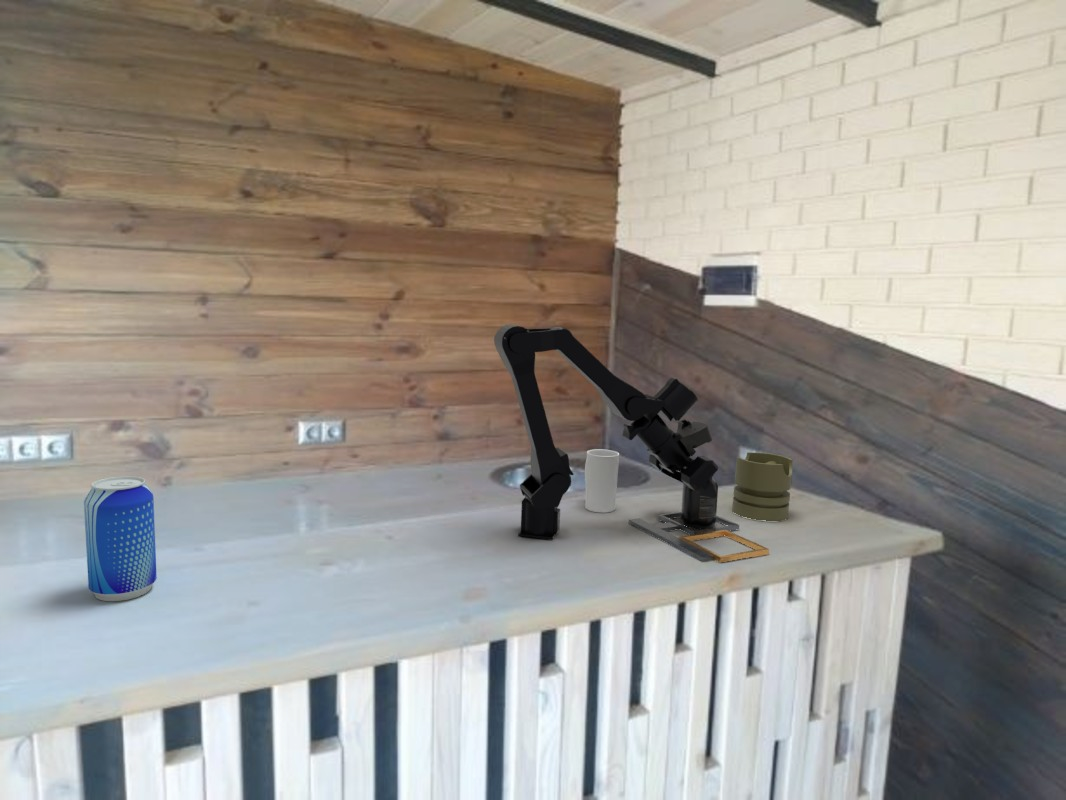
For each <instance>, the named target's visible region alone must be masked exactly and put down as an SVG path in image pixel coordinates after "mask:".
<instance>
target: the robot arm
mask: <svg viewBox="0 0 1066 800" xmlns="http://www.w3.org/2000/svg"><path fill="white" fill-rule="evenodd" d="M493 337H494V338H493V340H494V341H493V343H494V347H495V349H496V352H497V354H498V356H499V358H500V360H501V361H502V363H503V365H504V367H505V368H506V371H507V372H508V373H509V375H510V377H511V381H512V383H513V384H512V385H513V387H514V391H515V395H516V398H517V400H518V401H517V402H518V405H519V408H520V409H519V410H520V412H521V416H522V419H523V424H524V427H525V431H526V433H527V437H528V441H529V445H530V461H529V462H530V471H531V473H530V474H529V475H528V476H527V477H526V478H525V479H524V480H523V481H522V482H521V483H520V484H519V489H520V492H521V495H522V496H523V497H524V498H523V499H522V500H521V511H520V512H521V514H520V515H521V516H520V530H519V531H518V533H517V535H518V536H519V537H527V538H535V539H542V540H554V538H555V536H556V535H557V534H558V532H559V531H560V523H561V509H560V508H558V507H560V504H561V501H562V498H563V496H564V495H565V494H566V493H567V492H568V490H570V489H569V488H570V487H571V485H572V477H571V476H574V475H575V474H574V472H573V471H572V469H571V466H570V462H569V461H570V458H569V455H568V453H567V452H565V451H564V450H563V449H561V448H559V447H556V446H555V444H554V440H553V437H552V433H551V429H550V425H549V421H548V418H547V414H546V411H545V408H544V404H543V400H542V396H541V392H540V389H539V385H538V382H537V378H536V373H535V372H536V371H535V369H536V353H541V352H543V353H544V352H549V351H556V352H557V353H558V354H559V355H560V356H561V357H563V358H564V360H565V361H566V362H568V363H569V364H570V365H571V366H572V367H573V368H574V369H575V370H576V371H578V373H580V374H581V375H582V376H583V377H584V378H585V379H586V380H587V381H588V382H589V383H590V384H591V385H592V386H593V387H595V389H596V390H597V391H598V393H599V395H600V397H601V399H602V400H603V401H604V403H605V404H606V405H607V408H608V409H610V411H611V412H612V413H613V414H615V416H618V417H620V418H623V419H624V420H627V421H630V422H629V423H623V430H622V437H623V438H625V439H627V440H629V441H633V440H634V439H635V438H636V437H637V438H638V439H639V440H640V441H641V442H642V444H643V445H644V446H645V447H646V448H647V449H646V451H647V452H648V453H649V457H648V462H649V464H650V465H652V467H653V468H654V469H656V470H657V471H660V472H661V473H662V474H664V475H666V476H668V477H670V478H672V479H673V480H676V481H678V482H680V483H682V484H683V482H684V483H685V486H687V487H689V488H690V489H692V490H695V491H697V492H699V493H701V494H704V495H706V496H708V497H710V498H712V499H715V498H716V497H717V493H716V491H715V488H714V486H713V484H712V481H711V476H712V475H713V474H714V475H715V473H716V472H718V469H719V466H718V464H716V463H715V462H714V460H712V459H710V458H708V457H706V456H702V455H701V456H699V455H698V456H697V457H696V458H691V457H693V456H694V455H695V454H696V453H697V451H696V450H695V449H696V448H698V447H701V446H703V445H705V444H706V443H711V442H712V441H713V437H712V434H711V431H710V428H709V426H708V424H706V423H703V422H701V421H692V422H690V420H689V419H685V418H683V417H684V416H685V414H687V413H688V412H689V411H690V410H691V409H692V408H693V407H694V405H695V406H696V404H697V403H698V402H699V399H698V397H697V395H696V394H695V392H693V391H692V390H691V389H689V388H688V387H687V386H685V385H684V384H683V383H682V382H680V381H679V380H678V378H675V377H670V378H669V379H668V380H667V381H666V383H665V384H664V385H663V386H662V388H661V389H660V390H658V391H657V393H655V395H650V394H647V393H643V392H642V391H640V390H639V389H637V388H635V387H634V386H633V385H631V384H630V383H628V382H627V381H624V380H622V379H621V378H620V377H618V376H616V375H614V373H613V372H612V371H610V370H609V369H608V368H607V367H606V366H605V365H604V364H603V363H602V362H601V361H600V360H599V359H598V358H597V357H596V356H595V355H594V354H593V353H591V351H589V349H588V348H586V346H585V345H583V344H582V343H581V342H580V341H579V340H578V339H577V338H576V337H575V336H574V335H573V334H572V332H571V330H569V329H568V328H565V327H561V326H553V327H551V328H550V327H549V328H547V327H546V328H544V327H543V328H526V327H524V326H520V325H515V324H511V323H510V324H505V325H502V326H501V327H500V328H499V329H497V331H496V333H495V334H494V336H493ZM672 420H673V421H674V422H676V423H677V430H676V432H674V431H673V430H672V429H671V428H670V426H669V425H668V424H667V423H666V422H665V421H667V422H668V423H671V422H672Z"/></svg>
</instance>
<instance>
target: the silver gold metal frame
mask: <svg viewBox="0 0 1066 800" xmlns="http://www.w3.org/2000/svg"><path fill="white" fill-rule="evenodd" d="M674 517H680V518H681V511H677V512H668V513H661V514H657V520H658V519H659V520H658V521H660V520H661V521H660V522H662V521H663V523H656V524H655V523H654V524H652V523H651V522H647V521H646V520H644V519H642V518H630V519H628V524H629V525H631V526H633V525H634V526H636V527H637V529H638V528H639V529H638V530H640V529H641V530H640V531H642V530H643V532H644V531H645V532H644V533H646V532H647V533H646V534H648V533H649V534H648V535H650V534H651V535H650V536H652V535H653V536H652V537H654V536H655V537H654V538H656V537H657V538H656V539H658V538H659V539H658V540H660V539H661V540H663V541H665V542H667V543H668V545H669V544H670V545H669V546H671V545H672V546H671V547H673V546H674V548H675V547H676V548H675V549H677V548H678V549H677V550H679V549H680V550H679V551H681V550H682V551H681V552H683V553H685V554H686V553H687V555H688V554H689V556H690V555H691V556H690V557H692V556H693V558H694V557H695V558H694V559H696V558H697V559H696V560H698V561H700V562H701V563H705V562H711V561H715V560H716V561H715V562H717V561H718V562H717V563H719V562H720V563H719V564H722V563H721V562H724V563H728V562H727V561H730V562H733V561H732V560H735V561H738V560H737V559H741V560H743V559H742V558H746V559H750V558H749V557H752V558H757V557H762V556H768V555H770V549H769V548H767V547H765V546H763V545H761V544H759V543H756V542H755V541H751V540H749V539H747V538H745V537H743V536H741V535H738V534H736V533H734V532H733V531H730V530H736V529H739V530H740V524H738V523H735V522H733V521H732V520H731V521H730V520H729V519H727V518H724V517H722V516H719V515H717V514H716V521H718V522H717V523H719V522H720V523H719V524H721V523H723V524H725V525H728V526H725V525H723V524H722V525H723V526H716V527H715V526H714V527H713V528H708V529H694V528H689V527H686V526H684V525H683V524H682V523H679V522H678V521H675V520H673V519H675V518H674ZM669 518H673V519H669ZM664 522H666V523H664ZM634 526H633V527H634ZM636 527H635V528H636ZM675 529H681V530H683V531H685V532H687V533H689V534H690V535H689V534H687V533H686V534H687V535H682V536H676V535H674V534H672V533H670V532H671V531H670V530H675ZM681 530H680V531H681ZM666 531H668V532H666ZM675 531H676V530H675ZM683 531H682V532H683ZM736 531H737V530H736ZM685 532H684V533H685ZM724 535H725V536H724ZM719 536H722V537H726V536H727V537H726V538H728V537H729V538H728V539H730V538H732V539H734V540H736V541H735V542H737V541H738V542H737V543H739V542H741V543H742V544H741V543H740V544H741V545H743V544H745V545H747V546H746V547H748V546H749V547H748V548H750V547H751V548H750V549H752V548H753V549H752V550H747V551H746V550H745V551H742V552H741V551H740V552H736V553H731V554H730V553H729V554H723V555H721V554H718V553H716V552H714V551H712V550H710V549H708V548H706V547H704V546H702V545H700V544H698V543H696V542H695V541H694V540H697V541H701V540H700V539H703V540H708V539H707V538H710V539H715V538H714V537H716V538H720V537H719ZM732 539H731V540H732ZM661 540H660V541H661ZM734 540H733V541H734ZM663 541H662V542H663ZM665 542H664V543H665ZM667 543H666V544H667ZM745 545H744V546H745ZM754 549H755V550H754ZM710 560H711V561H710Z"/></svg>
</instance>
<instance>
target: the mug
mask: <svg viewBox="0 0 1066 800" xmlns="http://www.w3.org/2000/svg"><path fill="white" fill-rule="evenodd" d="M619 461H620V453H619V452H618V451H616V450H611V449H610V450H609V449H602V448H601V449H599V448H598V449H596V448H594V449H589V450H587V451H586V461H585V464H584V465H585V466H584V479H585V503H584V504H585V506H584V507H585V509H586V510H587V511H589V512H594V513H598V514H600V513H601V514H605V513H606V514H607V513H612V512H614V511H615V509H616V500H617V486H618V474H619Z"/></svg>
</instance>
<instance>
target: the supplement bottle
mask: <svg viewBox="0 0 1066 800" xmlns="http://www.w3.org/2000/svg"><path fill="white" fill-rule="evenodd" d="M713 477H715V473H714V474H713V475H712V476H711V481H712V484H713V486H714V488H715V491H716V493H717V497H716V498H715V499H712V498H710V497H708V496H706V495H704V494H701V493H699V492H697V491H695V490H692V489H690V488H689V487H687V486H685V483H684V482H683V483H682V496H681V511H680V512H681V517H680V522H681V524H682V525H685V526H687V527H690V528H691V529H694V528H695V529H694V530H701V529H708V528H715V526H716V525H717V524H716V523H717V522H716V515H717V512H718V511H717V509H718V495H719V484H718V482H717V481H716V480H715V479H714V478H713Z"/></svg>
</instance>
